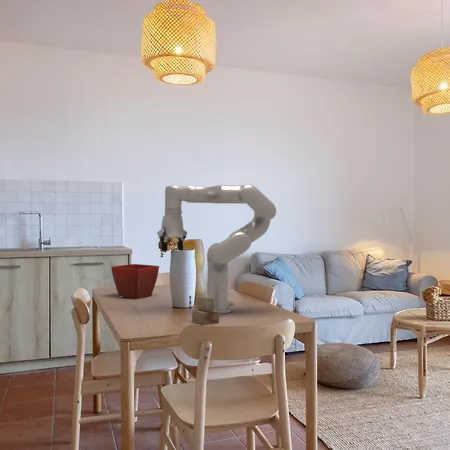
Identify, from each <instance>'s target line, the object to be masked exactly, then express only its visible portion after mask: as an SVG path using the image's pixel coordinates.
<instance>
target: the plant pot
mask: <svg viewBox="0 0 450 450" xmlns="http://www.w3.org/2000/svg"><path fill="white" fill-rule="evenodd" d="M159 269H160V265H151V264H140V263H139V264H138V263H132V264H123V265H122V264H121V265H115V266H111V275H112V279H113V282H114V285H115V289H116V291H117V295H118V297H119V296H122V297H121V298H125V297H129V298H128V299H132V298H138V299H142V298H141V297H143V298H147V297H146V296H148V297H151V296H152V294H153V293H154V292H153V291H154V289H155V286H156V283H157V279H158V274H159V272H160V271H159Z"/></svg>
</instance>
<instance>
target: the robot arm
mask: <svg viewBox="0 0 450 450" xmlns="http://www.w3.org/2000/svg"><path fill="white" fill-rule="evenodd" d="M164 191H165V192H164V215H162V219H161V221H162V222H161V226H160V227H161V228H160V229H159V231H157V236H158V239H159V241H160V242H161V251H163V252H167V251H168V240H169V238H172V239H177V240H178V241H177V248H176V249H177V251H183V250H184V242H185V239H186V238H187V236H188V231H186V230H185V229H184V221H183V216H182V214H183V210H182V202H186V203H188V204H191V203H193V204H236V205H239V204H240V205H241V204H243V205H244V204H246V205H248V207H250V209H251V210H252V211H253V218H252V220H250V221H249V222H248V223H246V224H245V225H244V226H242V227H240V228H239V229H236V230H235V231H234V232H231V234H229V236H228V237H227V238H225V239H223V240H222V241H221V242H215V243H213V244H211V245H210V246H209V247H208V248H207V252H206V262H207V264H206V266H207V296H206V297H210V298H213V300H214V310H216V311H219V315H220V314H222V315H223V314H229V313H231V312H232V308H231V307H230V306H235V301H233V300H232V301H230V300H229V263H230V262H232V261H234V260H235V259H236V258H238V257H240V256H241V255H243V254H244V253H246V252H247V251H249V249H251V248H250V247H251V245H252V243H254V242H255V241H257V240H258V239H260V238H261V237H262V236H264V235H265V234H266V232H267V231H268V230H269V227H270V225H271V220H273V219H274V218H275V216H276V215H277V207H276V205H275V204H274V203H273V201H272V200H271V199H269V197H267V196H266V195H265V194H263V192H261V191H260V190H259V189H258V188H257V187H256V186H255V185H253V184H249V183H248V184H244V185H243V184H242V185H241V184H237V185H233V184H231V185H230V184H220V185H219V184H217V185H214V186H203V187H202V186H197V187H196V186H194V185H184V186H183V185H181V186H179V185H167V186H166V187H165V190H164Z"/></svg>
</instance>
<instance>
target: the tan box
mask: <svg viewBox="0 0 450 450" xmlns="http://www.w3.org/2000/svg"><path fill="white" fill-rule="evenodd" d="M191 310H192V311H191V313H192V314H191V315H192V316H191V322H193V323H194V324H198V325H201V326H206V325H213V324H220V314H219V311H216V310H214V311H213V312H208V311H204V310H199V309H191Z"/></svg>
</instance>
